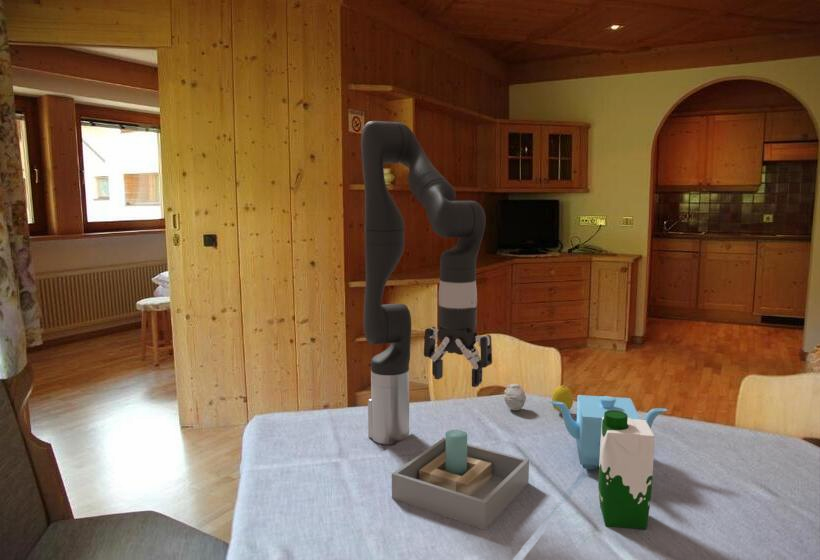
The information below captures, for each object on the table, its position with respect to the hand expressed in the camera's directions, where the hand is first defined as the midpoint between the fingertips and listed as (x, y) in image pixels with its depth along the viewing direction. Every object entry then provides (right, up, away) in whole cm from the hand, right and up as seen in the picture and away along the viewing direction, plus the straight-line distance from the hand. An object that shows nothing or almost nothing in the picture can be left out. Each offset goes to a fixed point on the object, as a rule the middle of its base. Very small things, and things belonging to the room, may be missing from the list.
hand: (456, 382), depth 120 cm
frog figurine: (+19, -15, +45) cm, 51 cm away
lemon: (+32, -16, +42) cm, 55 cm away
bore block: (0, -21, +3) cm, 21 cm away
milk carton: (+30, -24, -9) cm, 39 cm away
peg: (0, -21, +3) cm, 21 cm away
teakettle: (+34, -20, +13) cm, 42 cm away
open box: (+1, -22, -1) cm, 22 cm away
